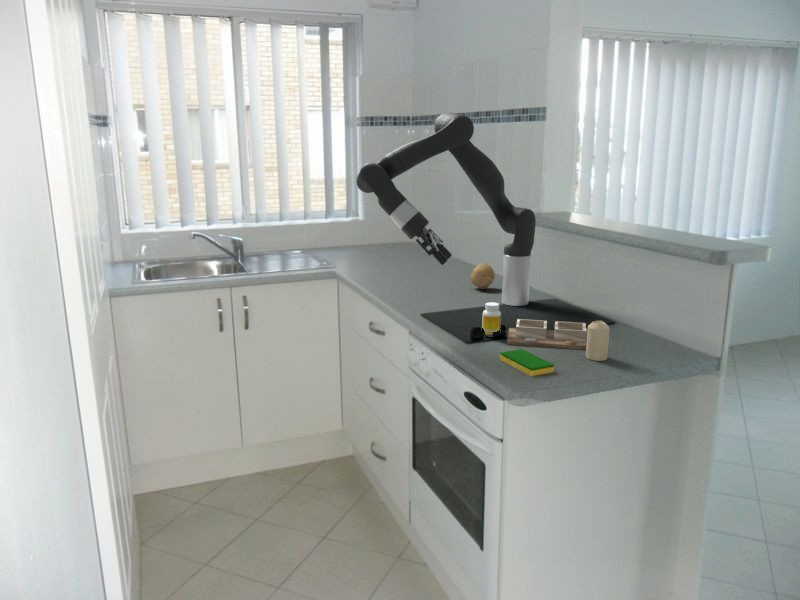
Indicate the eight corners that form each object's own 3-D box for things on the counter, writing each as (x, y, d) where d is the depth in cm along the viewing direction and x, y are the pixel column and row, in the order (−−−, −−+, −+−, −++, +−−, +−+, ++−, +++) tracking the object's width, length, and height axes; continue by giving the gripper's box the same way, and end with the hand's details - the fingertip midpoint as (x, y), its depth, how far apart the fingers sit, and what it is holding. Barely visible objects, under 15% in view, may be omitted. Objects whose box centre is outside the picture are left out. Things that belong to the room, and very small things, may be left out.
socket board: (509, 331, 200) (509, 318, 199) (591, 336, 195) (592, 323, 194) (506, 344, 188) (507, 330, 187) (594, 350, 183) (595, 336, 182)
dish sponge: (521, 357, 179) (522, 348, 178) (554, 373, 167) (555, 364, 166) (499, 360, 176) (499, 352, 175) (531, 377, 164) (531, 368, 163)
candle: (606, 362, 173) (609, 325, 171) (584, 359, 175) (587, 323, 173) (608, 356, 178) (611, 320, 176) (586, 353, 180) (589, 318, 178)
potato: (496, 292, 248) (497, 266, 246) (472, 292, 248) (473, 266, 246) (491, 286, 257) (492, 261, 255) (469, 286, 257) (469, 261, 254)
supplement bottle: (480, 332, 198) (481, 301, 196) (498, 332, 199) (499, 301, 196) (483, 338, 193) (484, 306, 191) (501, 338, 194) (503, 306, 191)
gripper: (413, 213, 185) (453, 255, 185) (422, 207, 198) (459, 247, 199) (394, 231, 187) (434, 273, 188) (405, 225, 201) (442, 264, 201)
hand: (447, 260), depth 193 cm, fingers open, 8 cm apart
